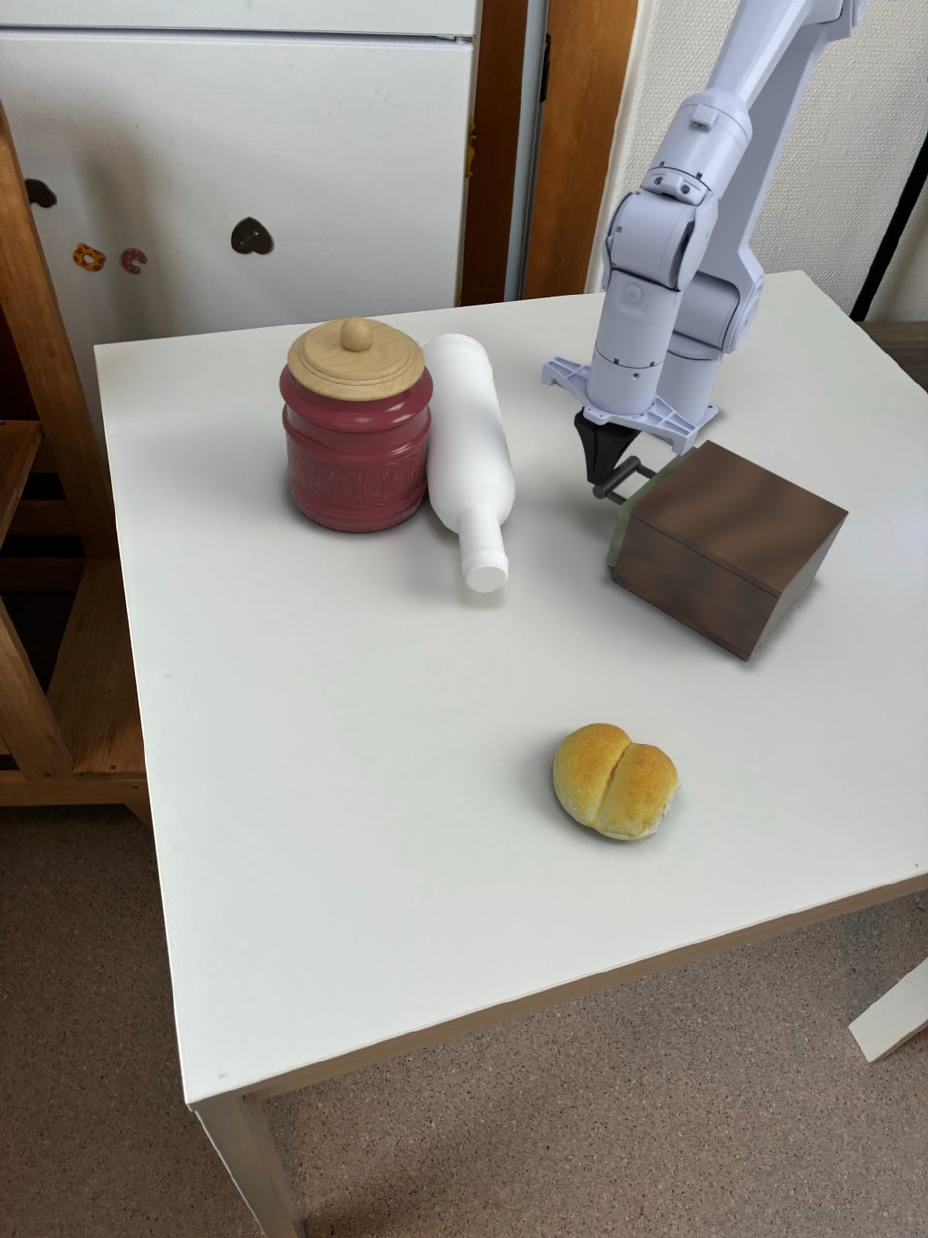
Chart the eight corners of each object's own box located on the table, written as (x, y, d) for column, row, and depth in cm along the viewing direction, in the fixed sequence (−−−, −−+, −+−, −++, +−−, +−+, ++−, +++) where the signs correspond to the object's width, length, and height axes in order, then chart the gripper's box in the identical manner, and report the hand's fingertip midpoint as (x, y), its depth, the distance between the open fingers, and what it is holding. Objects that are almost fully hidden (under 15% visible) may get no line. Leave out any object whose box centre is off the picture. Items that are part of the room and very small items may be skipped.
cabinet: (611, 579, 80) (632, 507, 73) (682, 510, 87) (707, 438, 80) (747, 662, 75) (782, 592, 68) (811, 582, 81) (849, 511, 75)
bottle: (501, 379, 94) (549, 590, 75) (433, 409, 96) (463, 623, 77) (470, 318, 89) (513, 531, 69) (399, 351, 91) (422, 567, 71)
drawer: (566, 539, 81) (579, 481, 76) (633, 480, 88) (650, 423, 82) (729, 636, 75) (755, 580, 70) (789, 565, 81) (816, 509, 76)
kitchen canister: (318, 552, 79) (307, 380, 66) (269, 463, 86) (250, 292, 73) (450, 514, 84) (465, 346, 70) (393, 433, 91) (397, 267, 78)
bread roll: (580, 721, 69) (590, 690, 66) (686, 780, 67) (701, 750, 64) (526, 798, 65) (534, 768, 62) (638, 865, 62) (652, 838, 59)
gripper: (529, 330, 73) (509, 462, 83) (682, 408, 67) (641, 539, 78) (578, 299, 77) (554, 429, 87) (727, 370, 71) (683, 500, 82)
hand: (598, 478), depth 83 cm, fingers closed
